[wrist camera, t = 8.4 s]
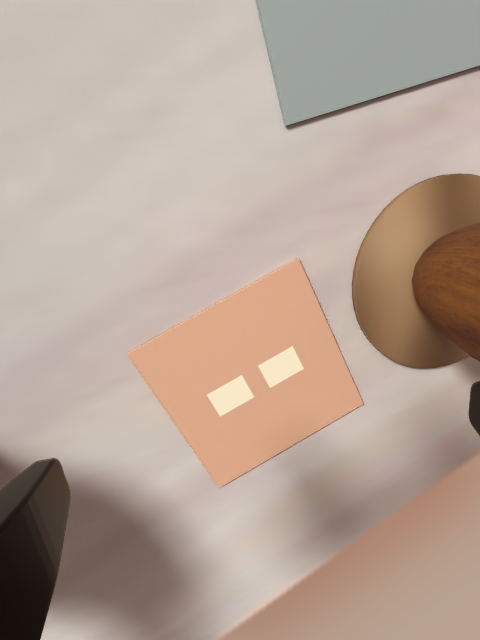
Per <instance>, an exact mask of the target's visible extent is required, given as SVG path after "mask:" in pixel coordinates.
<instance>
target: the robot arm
mask: <svg viewBox="0 0 480 640" xmlns="http://www.w3.org/2000/svg"><path fill="white" fill-rule="evenodd" d="M469 419H470V422H471V424H472V426H473V427H474V429H475V430H476V432H477V433H478V434H479V436H480V381H479V382H475V383H474V384H473V385H472V387H471V392H470V404H469ZM69 505H70V489H69V486H68V483H67V480H66V478H65V475H64V472H63V469H62V466H61V464H60V462H59V460H58V459H55V458H52V459H46V460H41V461H37V462H35V463H33V464H32V465H31V466H30V467H28V468H27V469H26V470H25V471H23V472H22V473H21V474H20V475H18V476H17V477H16V478H15V479H13V480H12V481H11V482H10V483H9V484H7V485H6V486H5V487H4V488H2V489H1V490H0V640H40V639H41V635H42V631H43V628H44V624H45V621H46V617H47V613H48V610H49V606H50V602H51V599H52V595H53V591H54V588H55V584H56V580H57V576H58V571H59V565H60V560H61V554H62V547H63V541H64V535H65V529H66V523H67V517H68V511H69Z"/></svg>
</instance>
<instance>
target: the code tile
mask: <svg viewBox="0 0 480 640" xmlns="http://www.w3.org/2000/svg"><path fill="white" fill-rule="evenodd" d="M256 3H257V8H258V12H259V16H260V21H261V25H262V29H263V33H264V38H265V42H266V46H267V51H268V55H269V59H270V64H271V68H272V72H273V77H274V81H275V85H276V90H277V94H278V98H279V102H280V107H281V111H282V115H283V120H284V124H285V126H287V125H290V124H294V123H297V122H300V121H303V120H306V119H310V118H313V117H316V116H319V115H323V114H326V113H329V112H332V111H335V110H339V109H342V108H345V107H348V106H351V105H355V104H358V103H361V102H364V101H367V100H371V99H374V98H377V97H380V96H383V95H387V94H390V93H393V92H396V91H399V90H403V89H406V88H409V87H412V86H415V85H419V84H422V83H425V82H428V81H432V80H435V79H438V78H441V77H444V76H448V75H451V74H454V73H457V72H460V71H464V70H467V69H470V68H473V67H476V66H480V0H256Z"/></svg>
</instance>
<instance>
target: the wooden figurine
mask: <svg viewBox="0 0 480 640" xmlns="http://www.w3.org/2000/svg"><path fill="white" fill-rule="evenodd" d="M412 286H413V292H414V297H415V299H416V301H417V304H418V306H419V308H420V310H421V311H422V312H423V313H424V314H425V315H426V316H427V317H428V318H429V319H430V320H431V322H432V323H433V324H434V325H435V326H436V328H437V329H439V330H440V331H441V332H442V333H443V334H444V335H445V336H446V337H447V338H448V339H450V340H451V341H452V342H453V343H455V344H456V345H457V346H458V347H460V348H461V349H462V350H464V351H465V352H466V353H467V354H469V355H470V356H471V357H473V358H475V359H477V360H479V361H480V223H476V224H473V225H470V226H466V227H463V228H460V229H458V230H456V231H453V232H451V233H449V234H446V235H444V236H443V237H441V238H439V239H437V240H436V241H434V242H433V243H432V244H431V245H430V246H429V247H428V248H427V249H426V250H425V251H424V252H423V254H422V255H421V257H420V258H419V260H418V261H417V263H416V264H415V268H414V272H413V277H412Z"/></svg>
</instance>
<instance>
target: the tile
mask: <svg viewBox="0 0 480 640" xmlns="http://www.w3.org/2000/svg"><path fill="white" fill-rule="evenodd" d="M127 355H128V357H129V358H130V360H131V361H132V363H133V364H134V365H135V367H136V368H137V370H138V371H139V373H140V374H141V376H142V377H143V379H144V380H145V381H146V383H147V384H148V386H149V387H150V389H151V390H152V392H153V393H154V395H155V396H156V397H157V399H158V400H159V402H160V403H161V405H162V406H163V408H164V409H165V411H166V412H167V413H168V415H169V416H170V418H171V419H172V421H173V422H174V424H175V425H176V427H177V428H178V429H179V431H180V432H181V434H182V435H183V437H184V438H185V440H186V441H187V443H188V444H189V445H190V447H191V448H192V450H193V451H194V453H195V454H196V456H197V457H198V459H199V460H200V461H201V463H202V464H203V466H204V467H205V469H206V470H207V472H208V473H209V475H210V476H211V477H212V479H213V480H214V482H215V483H216V485H217V486H218V488H220V487H222V486H224V485H225V484H227V483H229V482H230V481H232V480H234V479H236V478H237V477H239V476H241V475H242V474H244V473H246V472H248V471H249V470H251V469H253V468H254V467H256V466H258V465H260V464H261V463H263V462H265V461H266V460H268V459H270V458H272V457H273V456H275V455H277V454H278V453H280V452H282V451H284V450H285V449H287V448H289V447H291V446H292V445H294V444H296V443H297V442H299V441H301V440H303V439H304V438H306V437H308V436H309V435H311V434H313V433H315V432H316V431H318V430H320V429H321V428H323V427H325V426H327V425H328V424H330V423H332V422H333V421H335V420H337V419H339V418H340V417H342V416H344V415H345V414H347V413H349V412H351V411H352V410H354V409H356V408H357V407H359V406H361V405H363V401H362V399H361V397H360V395H359V392H358V390H357V388H356V386H355V384H354V381H353V379H352V377H351V375H350V372H349V370H348V368H347V366H346V363H345V361H344V359H343V357H342V354H341V352H340V350H339V348H338V345H337V343H336V341H335V339H334V336H333V334H332V332H331V330H330V327H329V325H328V323H327V321H326V318H325V316H324V314H323V312H322V309H321V307H320V305H319V303H318V300H317V298H316V296H315V294H314V291H313V289H312V287H311V285H310V282H309V280H308V278H307V276H306V273H305V271H304V269H303V267H302V264H301V262H300V260H299V259H298V258H297V259H295V260H294V261H292V262H290V263H288V264H286V265H285V266H283V267H281V268H279V269H277V270H276V271H274V272H272V273H270V274H268V275H267V276H265V277H263V278H261V279H260V280H258V281H256V282H254V283H252V284H251V285H249V286H247V287H245V288H243V289H242V290H240V291H238V292H236V293H234V294H233V295H231V296H229V297H227V298H225V299H224V300H222V301H220V302H218V303H217V304H215V305H213V306H211V307H209V308H208V309H206V310H204V311H202V312H200V313H199V314H197V315H195V316H193V317H191V318H190V319H188V320H186V321H184V322H182V323H181V324H179V325H177V326H175V327H174V328H172V329H170V330H168V331H166V332H165V333H163V334H161V335H159V336H157V337H156V338H154V339H152V340H150V341H148V342H147V343H145V344H143V345H141V346H139V347H138V348H136V349H134V350H132V351H131V352H129V353H127Z"/></svg>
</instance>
